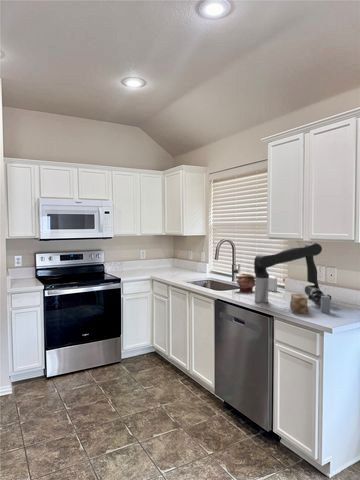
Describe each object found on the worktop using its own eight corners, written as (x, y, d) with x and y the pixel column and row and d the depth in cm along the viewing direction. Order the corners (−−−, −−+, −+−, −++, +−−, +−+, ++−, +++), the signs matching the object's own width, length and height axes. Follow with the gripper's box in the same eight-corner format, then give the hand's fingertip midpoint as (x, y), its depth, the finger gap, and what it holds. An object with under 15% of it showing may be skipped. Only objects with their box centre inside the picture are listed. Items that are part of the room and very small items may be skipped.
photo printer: (265, 289, 291) (265, 275, 290) (268, 289, 293) (269, 274, 292) (274, 291, 282) (274, 276, 281) (277, 291, 284) (278, 276, 283)
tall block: (322, 312, 214) (322, 297, 214) (320, 311, 219) (321, 295, 218) (329, 313, 214) (330, 297, 213) (328, 311, 218) (328, 295, 218)
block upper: (293, 305, 213) (293, 297, 213) (291, 301, 225) (291, 293, 225) (307, 306, 212) (307, 298, 211) (304, 302, 223) (304, 294, 223)
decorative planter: (252, 289, 291) (253, 273, 291) (262, 291, 280) (262, 274, 280) (233, 291, 283) (233, 274, 282) (241, 293, 272) (242, 276, 271)
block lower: (292, 314, 212) (292, 306, 212) (290, 308, 226) (290, 301, 226) (308, 315, 210) (308, 306, 210) (304, 309, 224) (304, 301, 224)
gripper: (306, 288, 244) (310, 292, 228) (327, 289, 241) (333, 294, 225) (305, 299, 244) (310, 304, 228) (327, 300, 241) (333, 305, 225)
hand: (321, 299), depth 227 cm, fingers open, 8 cm apart
